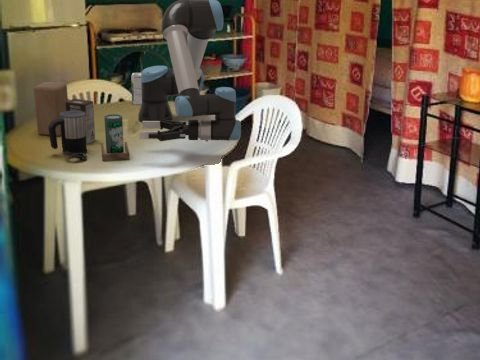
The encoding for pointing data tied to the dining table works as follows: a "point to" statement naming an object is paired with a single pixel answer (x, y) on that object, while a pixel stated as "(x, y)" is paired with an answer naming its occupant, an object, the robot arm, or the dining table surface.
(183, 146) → the dining table surface
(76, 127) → the milk frother
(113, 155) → the brown flat u-shaped piece
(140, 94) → the syrup box
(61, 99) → the block
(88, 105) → the coffee box
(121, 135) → the can
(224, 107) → the robot arm
